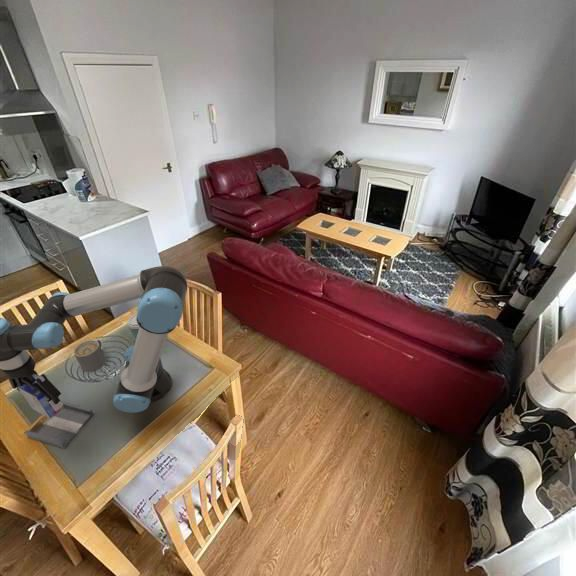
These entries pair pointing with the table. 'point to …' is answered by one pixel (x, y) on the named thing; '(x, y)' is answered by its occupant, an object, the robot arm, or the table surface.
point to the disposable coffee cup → (133, 325)
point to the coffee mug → (90, 355)
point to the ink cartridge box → (38, 400)
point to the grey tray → (60, 425)
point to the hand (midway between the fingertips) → (46, 403)
